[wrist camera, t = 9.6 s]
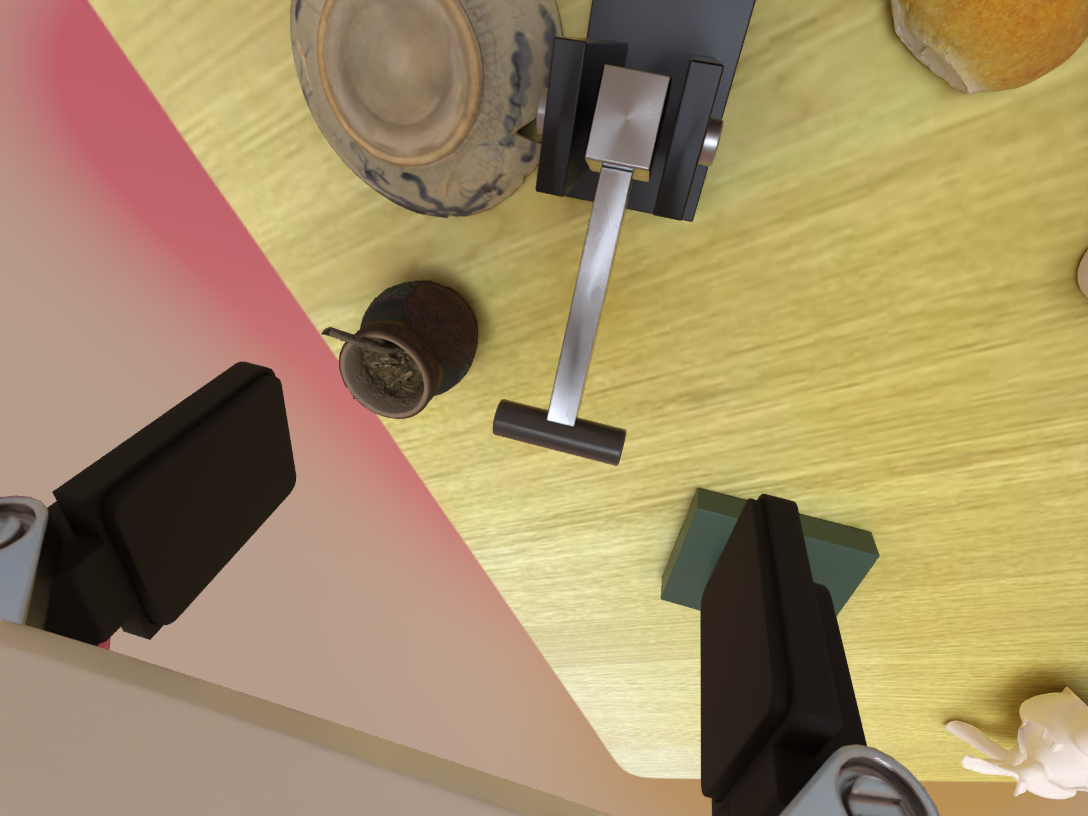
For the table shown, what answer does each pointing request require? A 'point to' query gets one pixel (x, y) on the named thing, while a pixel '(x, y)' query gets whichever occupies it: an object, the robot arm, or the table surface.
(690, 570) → the block
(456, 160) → the decorative bowl
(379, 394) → the mate gourd
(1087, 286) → the pill bottle
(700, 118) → the lever bracket
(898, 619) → the table surface
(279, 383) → the robot arm
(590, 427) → the lever
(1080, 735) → the rabbit figurine
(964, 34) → the bread roll
